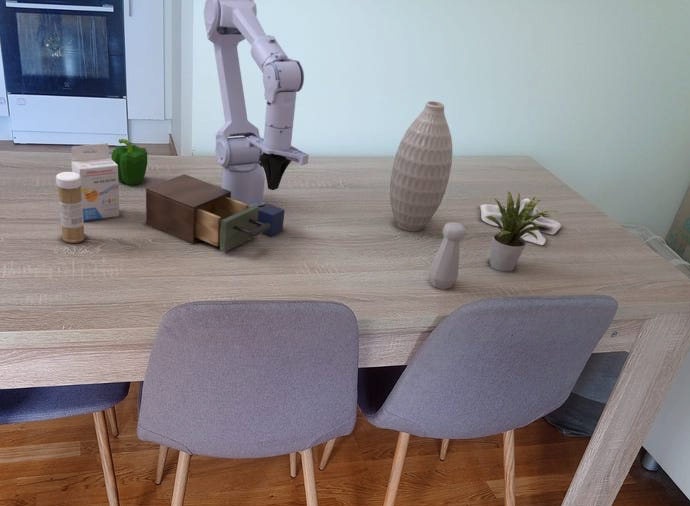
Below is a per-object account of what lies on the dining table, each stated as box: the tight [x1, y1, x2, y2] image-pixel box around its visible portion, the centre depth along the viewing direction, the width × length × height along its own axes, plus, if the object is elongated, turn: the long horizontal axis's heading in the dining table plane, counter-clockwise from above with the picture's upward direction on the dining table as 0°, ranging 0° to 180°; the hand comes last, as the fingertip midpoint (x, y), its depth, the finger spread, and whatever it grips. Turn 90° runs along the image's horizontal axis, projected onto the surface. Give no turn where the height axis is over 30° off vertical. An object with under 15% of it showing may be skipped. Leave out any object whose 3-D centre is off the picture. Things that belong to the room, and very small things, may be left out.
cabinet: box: [145, 173, 231, 245], centre depth 152 cm, size 13×12×8 cm
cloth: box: [479, 198, 562, 246], centre depth 172 cm, size 22×19×6 cm
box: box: [257, 203, 285, 237], centre depth 155 cm, size 4×4×5 cm
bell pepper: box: [111, 138, 148, 186], centre depth 169 cm, size 8×8×10 cm
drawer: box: [195, 196, 271, 253], centre depth 148 cm, size 17×11×7 cm, turn 56°
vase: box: [389, 100, 453, 232], centre depth 158 cm, size 13×13×28 cm
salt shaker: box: [428, 221, 467, 290], centre depth 140 cm, size 6×6×13 cm
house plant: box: [486, 190, 558, 272], centre depth 148 cm, size 14×14×16 cm
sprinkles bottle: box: [55, 171, 86, 244], centre depth 140 cm, size 5×5×14 cm
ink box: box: [70, 142, 120, 222], centre depth 150 cm, size 8×5×15 cm, turn 123°
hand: (273, 188), depth 151 cm, fingers closed
